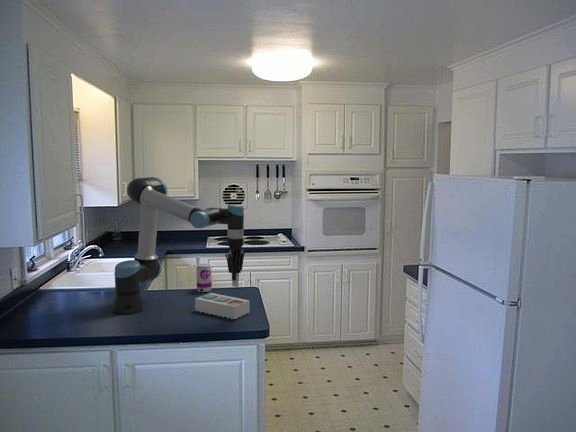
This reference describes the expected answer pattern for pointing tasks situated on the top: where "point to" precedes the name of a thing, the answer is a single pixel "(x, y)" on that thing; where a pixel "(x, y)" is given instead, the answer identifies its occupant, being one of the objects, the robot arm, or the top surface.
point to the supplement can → (204, 278)
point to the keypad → (223, 306)
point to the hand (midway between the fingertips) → (235, 286)
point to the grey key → (222, 299)
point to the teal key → (209, 296)
